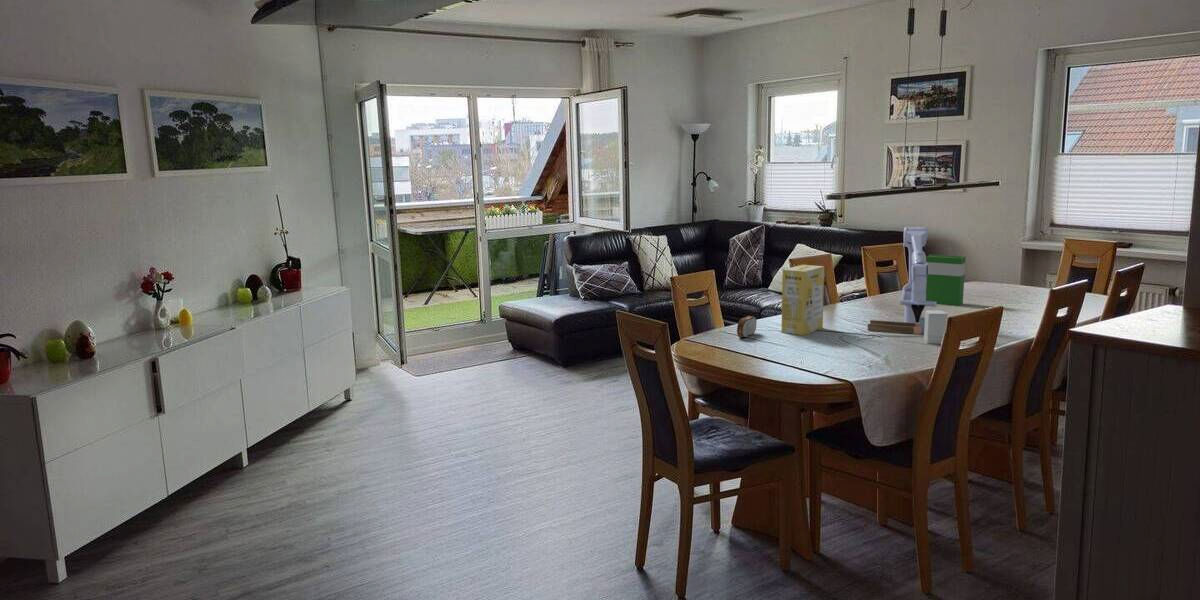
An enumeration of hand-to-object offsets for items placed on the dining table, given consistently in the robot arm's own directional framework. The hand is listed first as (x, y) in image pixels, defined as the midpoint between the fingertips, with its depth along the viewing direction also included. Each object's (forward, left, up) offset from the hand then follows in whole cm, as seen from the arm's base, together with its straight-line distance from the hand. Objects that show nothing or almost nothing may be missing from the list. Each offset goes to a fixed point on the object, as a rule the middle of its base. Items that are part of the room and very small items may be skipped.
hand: (917, 322), depth 351 cm
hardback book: (-72, +7, -5) cm, 72 cm away
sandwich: (+31, -67, -5) cm, 74 cm away
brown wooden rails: (0, -9, -4) cm, 10 cm away
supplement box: (+16, +8, -5) cm, 18 cm away
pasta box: (+12, -47, -5) cm, 49 cm away
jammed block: (0, +4, -4) cm, 6 cm away
